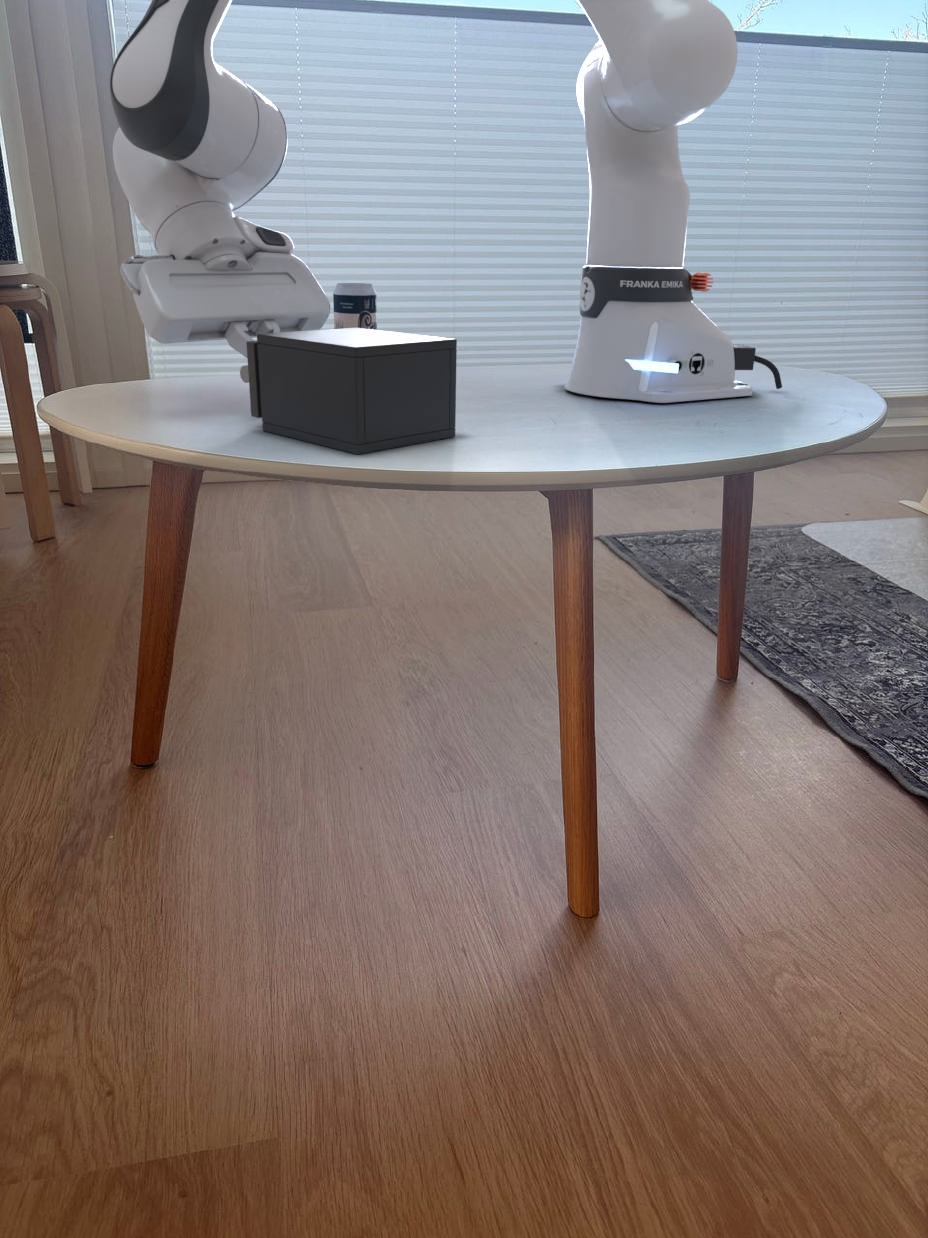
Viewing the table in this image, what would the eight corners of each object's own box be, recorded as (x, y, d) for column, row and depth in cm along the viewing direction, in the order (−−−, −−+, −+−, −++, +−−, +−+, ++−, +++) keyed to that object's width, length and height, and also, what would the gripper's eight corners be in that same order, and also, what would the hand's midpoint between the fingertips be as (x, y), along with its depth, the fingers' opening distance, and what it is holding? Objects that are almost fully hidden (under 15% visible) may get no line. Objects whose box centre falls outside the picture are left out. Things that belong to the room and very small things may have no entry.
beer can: (375, 399, 104) (374, 285, 99) (333, 398, 104) (329, 284, 99) (380, 392, 108) (378, 283, 104) (339, 391, 108) (336, 282, 104)
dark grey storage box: (262, 430, 86) (256, 333, 83) (359, 416, 94) (356, 327, 90) (357, 454, 77) (355, 347, 74) (455, 436, 85) (457, 338, 82)
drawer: (227, 410, 90) (221, 337, 87) (313, 399, 97) (310, 331, 94) (334, 436, 80) (332, 354, 77) (422, 421, 87) (422, 346, 84)
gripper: (121, 231, 85) (187, 351, 83) (301, 235, 99) (363, 337, 97) (104, 280, 90) (166, 395, 87) (279, 277, 104) (337, 377, 101)
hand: (271, 365), depth 92 cm, fingers closed, pressing on drawer
